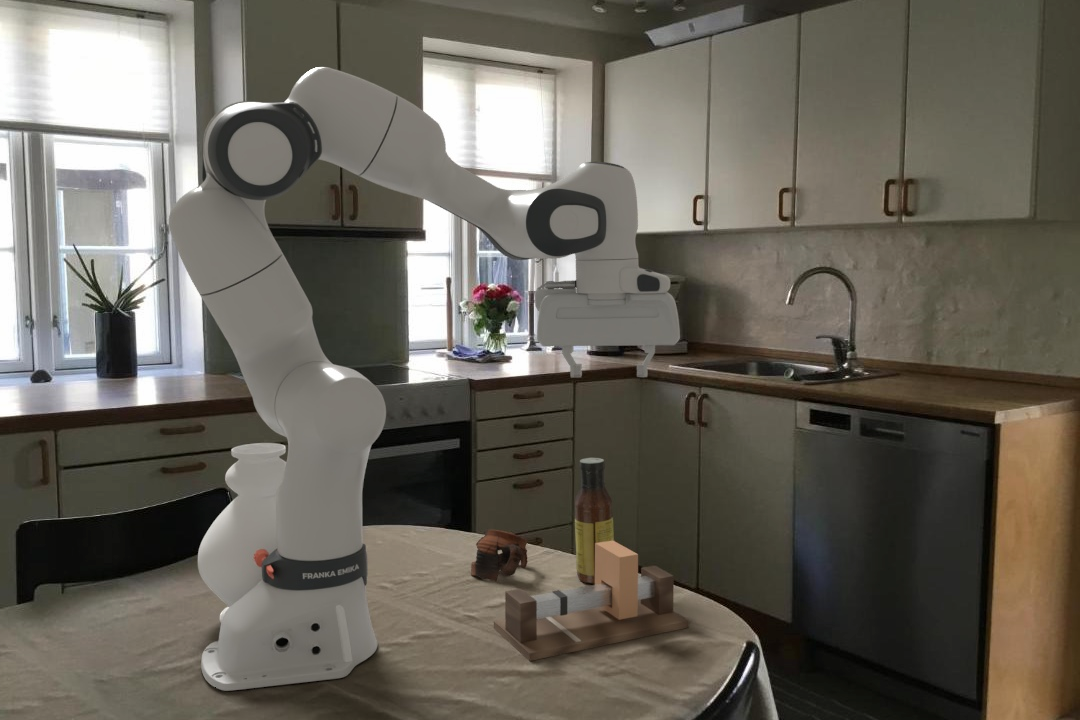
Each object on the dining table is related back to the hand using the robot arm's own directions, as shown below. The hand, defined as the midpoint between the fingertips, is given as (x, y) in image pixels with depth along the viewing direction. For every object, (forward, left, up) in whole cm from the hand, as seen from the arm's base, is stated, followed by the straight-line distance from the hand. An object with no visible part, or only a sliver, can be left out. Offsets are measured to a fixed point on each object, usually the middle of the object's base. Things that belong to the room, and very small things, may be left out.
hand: (609, 376), depth 133 cm
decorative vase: (-46, +22, -36) cm, 62 cm away
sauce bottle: (+6, +14, -36) cm, 39 cm away
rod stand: (-4, -3, -35) cm, 36 cm away
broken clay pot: (-7, +23, -36) cm, 43 cm away
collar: (0, -3, -33) cm, 34 cm away
